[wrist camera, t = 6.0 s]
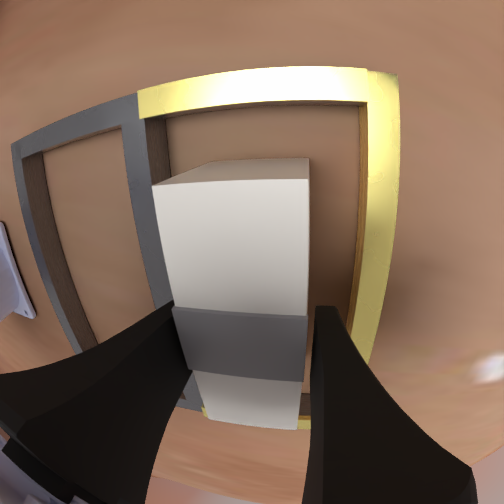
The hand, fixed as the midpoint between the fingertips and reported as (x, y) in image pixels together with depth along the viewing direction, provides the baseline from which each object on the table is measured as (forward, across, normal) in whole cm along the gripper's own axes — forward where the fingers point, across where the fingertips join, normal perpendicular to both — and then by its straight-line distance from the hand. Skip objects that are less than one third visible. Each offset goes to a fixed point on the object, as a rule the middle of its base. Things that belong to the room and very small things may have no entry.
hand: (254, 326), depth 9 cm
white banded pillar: (+3, 0, -1) cm, 3 cm away
